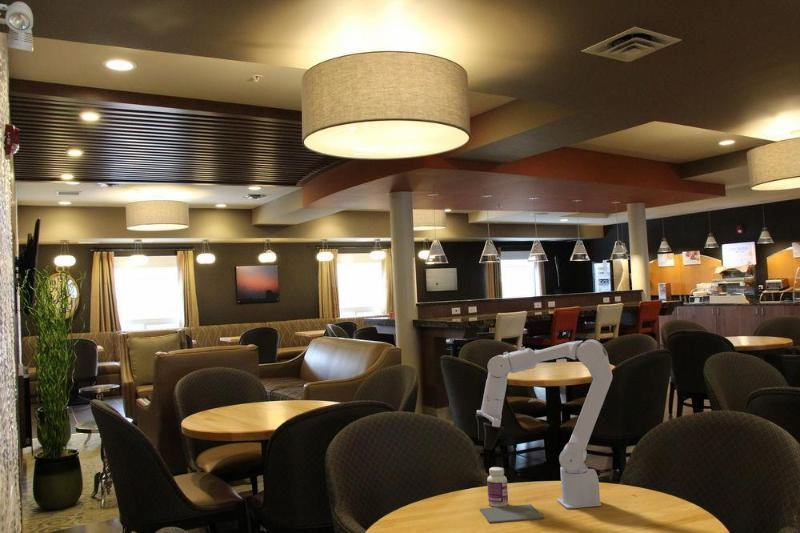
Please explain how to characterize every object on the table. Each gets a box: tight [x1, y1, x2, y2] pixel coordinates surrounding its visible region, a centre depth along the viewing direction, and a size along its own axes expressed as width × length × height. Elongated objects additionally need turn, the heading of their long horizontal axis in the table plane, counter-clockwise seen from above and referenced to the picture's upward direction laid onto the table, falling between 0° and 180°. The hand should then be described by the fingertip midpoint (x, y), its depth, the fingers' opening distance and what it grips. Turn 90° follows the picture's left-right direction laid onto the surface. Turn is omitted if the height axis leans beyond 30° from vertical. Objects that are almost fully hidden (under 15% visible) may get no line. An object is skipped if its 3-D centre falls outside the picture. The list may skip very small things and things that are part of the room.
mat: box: [479, 504, 545, 524], centre depth 172 cm, size 14×11×1 cm
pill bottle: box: [486, 466, 509, 508], centre depth 182 cm, size 5×5×10 cm
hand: (485, 444), depth 188 cm, fingers open, 7 cm apart
